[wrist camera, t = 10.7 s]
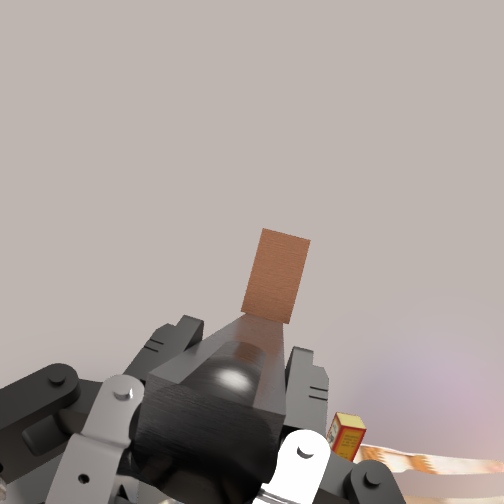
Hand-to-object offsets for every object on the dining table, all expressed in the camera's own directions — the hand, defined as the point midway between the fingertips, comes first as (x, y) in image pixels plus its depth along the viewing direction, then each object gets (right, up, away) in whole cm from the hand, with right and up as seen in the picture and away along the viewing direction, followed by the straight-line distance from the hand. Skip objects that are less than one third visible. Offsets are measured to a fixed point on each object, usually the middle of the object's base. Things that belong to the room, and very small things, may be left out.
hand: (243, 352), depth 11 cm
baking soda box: (+21, -54, +58) cm, 82 cm away
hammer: (0, -4, +6) cm, 7 cm away
